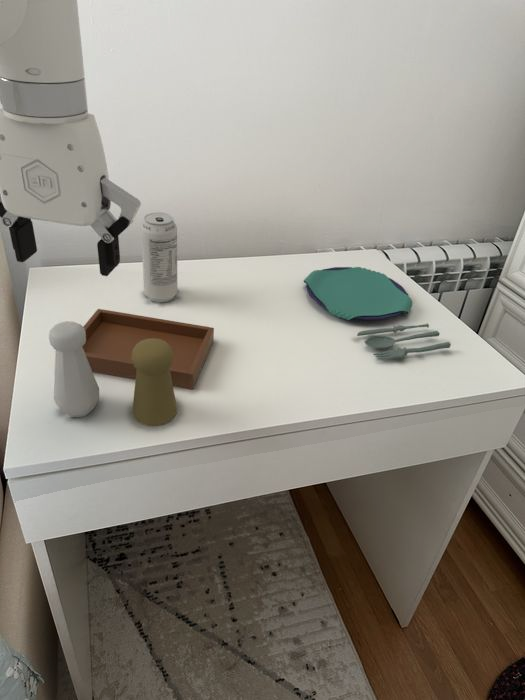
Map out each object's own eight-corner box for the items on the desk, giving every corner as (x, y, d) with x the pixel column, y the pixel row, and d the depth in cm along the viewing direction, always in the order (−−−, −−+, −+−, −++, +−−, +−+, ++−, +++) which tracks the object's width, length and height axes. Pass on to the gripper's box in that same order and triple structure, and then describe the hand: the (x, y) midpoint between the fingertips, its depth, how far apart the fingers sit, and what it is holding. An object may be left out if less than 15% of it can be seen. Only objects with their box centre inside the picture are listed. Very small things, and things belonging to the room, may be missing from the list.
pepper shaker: (130, 398, 75) (126, 333, 68) (174, 394, 76) (173, 330, 70) (133, 428, 70) (128, 361, 64) (179, 423, 72) (179, 357, 65)
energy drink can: (173, 286, 102) (172, 210, 93) (181, 301, 97) (180, 223, 88) (141, 289, 100) (137, 212, 91) (148, 305, 95) (144, 226, 86)
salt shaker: (96, 389, 76) (86, 311, 68) (105, 415, 72) (96, 335, 64) (52, 399, 73) (37, 319, 66) (60, 426, 69) (44, 344, 62)
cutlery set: (375, 271, 114) (377, 261, 113) (460, 352, 92) (464, 341, 90) (289, 279, 108) (290, 268, 107) (357, 367, 85) (360, 356, 84)
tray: (64, 366, 79) (62, 351, 78) (99, 322, 89) (98, 308, 88) (192, 389, 78) (193, 374, 76) (213, 341, 88) (214, 327, 86)
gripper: (-69, 93, 47) (-25, 266, 57) (117, 118, 46) (129, 292, 56) (-18, 80, 54) (14, 238, 63) (147, 102, 52) (153, 261, 62)
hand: (68, 263), depth 60 cm, fingers open, 9 cm apart
